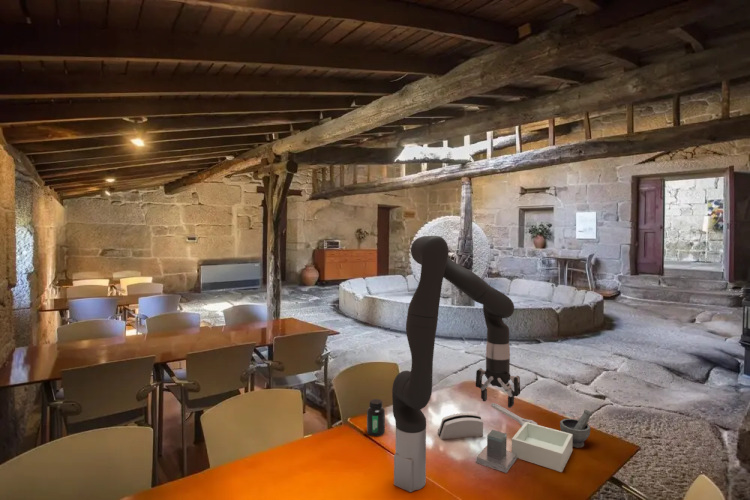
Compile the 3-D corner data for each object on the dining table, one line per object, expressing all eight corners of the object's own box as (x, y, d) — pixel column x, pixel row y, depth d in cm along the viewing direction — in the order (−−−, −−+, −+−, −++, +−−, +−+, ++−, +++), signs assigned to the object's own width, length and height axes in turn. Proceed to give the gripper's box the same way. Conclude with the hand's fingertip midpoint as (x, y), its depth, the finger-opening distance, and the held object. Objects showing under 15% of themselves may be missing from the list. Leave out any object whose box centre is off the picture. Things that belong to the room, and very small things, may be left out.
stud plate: (506, 473, 130) (506, 452, 129) (476, 462, 136) (476, 442, 135) (516, 459, 138) (516, 439, 137) (487, 450, 144) (487, 430, 143)
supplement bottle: (377, 438, 152) (377, 406, 151) (363, 433, 156) (363, 402, 155) (388, 431, 157) (388, 400, 157) (374, 426, 161) (374, 396, 161)
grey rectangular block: (501, 460, 133) (501, 439, 133) (487, 455, 136) (487, 435, 136) (506, 454, 137) (506, 433, 137) (492, 449, 140) (492, 429, 140)
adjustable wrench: (489, 407, 181) (489, 403, 181) (501, 405, 183) (502, 401, 183) (528, 432, 158) (528, 427, 158) (541, 429, 160) (541, 425, 160)
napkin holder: (477, 429, 159) (481, 409, 155) (482, 439, 155) (487, 418, 151) (436, 432, 156) (439, 412, 153) (440, 442, 152) (443, 421, 148)
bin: (562, 472, 130) (562, 453, 130) (511, 456, 140) (511, 438, 139) (572, 451, 143) (572, 434, 143) (525, 437, 153) (525, 421, 152)
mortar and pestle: (569, 450, 143) (570, 416, 143) (554, 437, 153) (555, 405, 152) (599, 448, 145) (600, 415, 144) (582, 436, 154) (583, 404, 154)
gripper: (472, 354, 137) (472, 402, 137) (516, 362, 128) (515, 413, 129) (481, 349, 143) (481, 395, 143) (523, 356, 134) (522, 405, 135)
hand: (497, 403), depth 136 cm, fingers open, 8 cm apart
